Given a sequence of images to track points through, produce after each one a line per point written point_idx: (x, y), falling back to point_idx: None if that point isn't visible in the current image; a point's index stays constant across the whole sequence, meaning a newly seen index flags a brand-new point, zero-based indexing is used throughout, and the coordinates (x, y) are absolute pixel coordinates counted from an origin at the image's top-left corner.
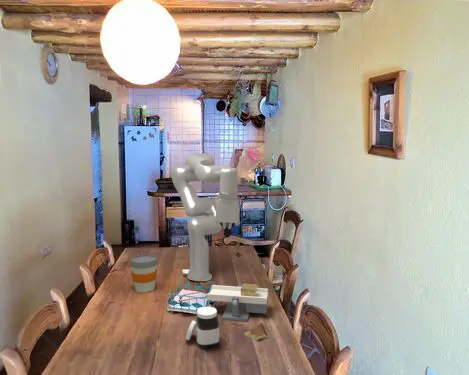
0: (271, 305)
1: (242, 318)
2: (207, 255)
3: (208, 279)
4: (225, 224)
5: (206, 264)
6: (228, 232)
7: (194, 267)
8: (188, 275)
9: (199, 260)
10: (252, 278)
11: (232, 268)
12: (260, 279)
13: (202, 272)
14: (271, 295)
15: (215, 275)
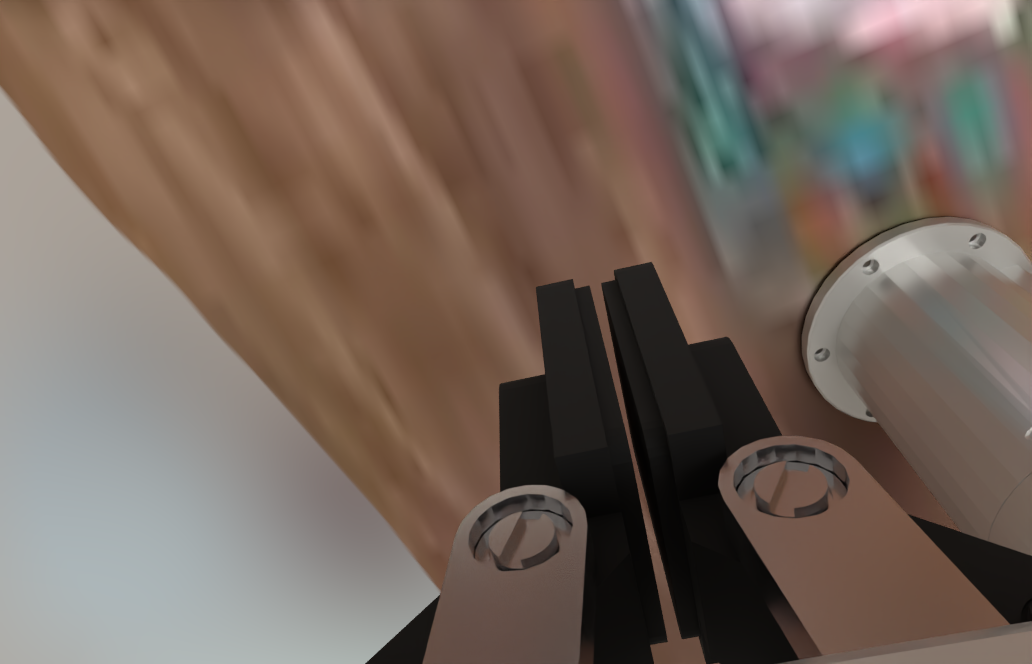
0: (14, 17)
1: None
2: (950, 468)
3: (818, 303)
4: (796, 636)
5: (907, 390)
6: (547, 375)
7: (1019, 305)
8: (1029, 273)
9: (1011, 363)
10: (470, 482)
11: None
12: (401, 489)
13: (905, 310)
14: (147, 235)
15: (789, 423)
